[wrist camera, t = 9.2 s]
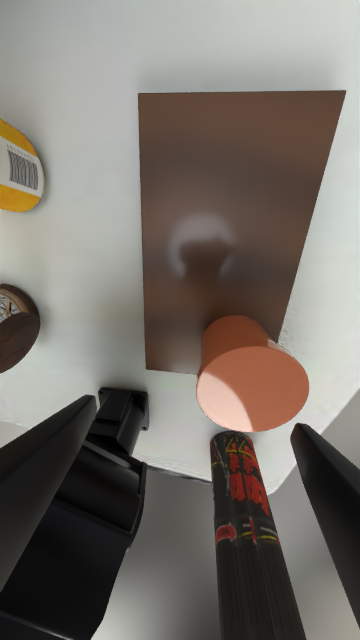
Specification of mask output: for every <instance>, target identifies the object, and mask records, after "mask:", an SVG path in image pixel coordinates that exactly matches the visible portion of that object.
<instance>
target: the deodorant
mask: <svg viewBox="0 0 360 640" xmlns="http://www.w3.org/2000/svg"><path fill="white" fill-rule="evenodd" d="M210 455H211V473H212V490H213V507H214V508H213V509H214V527H215V546H216V564H217V581H218V599H219V618H220V636H221V640H306V636H305V633H304V629H303V625H302V622H301V618H300V614H299V611H298V607H297V604H296V600H295V596H294V593H293V589H292V586H291V582H290V578H289V574H288V571H287V567H286V564H285V560H284V557H283V553H282V549H281V545H280V542H279V538H278V534H277V531H276V527H275V524H274V520H273V516H272V512H271V509H270V505H269V502H268V498H267V494H266V491H265V487H264V483H263V480H262V476H261V472H260V469H259V465H258V462H257V458H256V454H255V451H254V447H253V443H252V441H251V440H250V438H249V437H247V436H246V435H244V434H242V433H239V432H235V431H227V432H222V433H219V434H217V435H216V436H214V437H213V438H212V440H211V442H210Z"/></svg>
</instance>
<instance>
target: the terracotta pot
mask: <svg viewBox="0 0 360 640" xmlns="http://www.w3.org/2000/svg"><path fill="white" fill-rule="evenodd" d="M200 349H201V366H200V368H199V370H198V373H197V378H196V396H197V400H198V403H199V405H200V407H201V409H202V411H203V412H204V413H205V414H206V415H207V417H208V418H210V419H211V420H212V421H213V422H215V423H217V424H218V425H220V426H222V427H225V428H227V429H231V430H234V431H240V432H260V431H265V430H270V429H273V428H276V427H278V426H281V425H282V424H284V423H286V422H288V421H289V420H291V419H292V418H293V417H294V416H296V415H297V414H298V412H299V411H300V410H301V409H302V407H303V406H304V404H305V402H306V400H307V397H308V394H309V381H308V377H307V374H306V372H305V370H304V368H303V367H302V365H301V364H300V363H299V362H298V361H297V360H296V359H295V357H294V356H293V355H292V354H291V353H290V352H289V351H287V350H286V349H285V348H283V347H281V346H280V345H278V344H276V343H275V342H274V341H273V340H272V338H271V337H270V336H269V335H268V333H267V332H266V331H265V330H264V329H263V327H262V326H261V325H260V324H259V323H258V322H256V321H255V320H253V319H251V318H249V317H246V316H242V315H230V316H225V317H222V318H220V319H218V320H216V321H214V322H213V323H212V324H210V325H209V326H208V327H207V329H206V330H205V331H204V333H203V335H202V338H201V345H200Z"/></svg>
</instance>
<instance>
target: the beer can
mask: <svg viewBox="0 0 360 640" xmlns="http://www.w3.org/2000/svg"><path fill="white" fill-rule="evenodd" d="M44 188H45V177H44V172H43V168H42V165H41V163H40V161H39V158H38V156H37V153H36V151H35V150H34V148H33V146H32V145H31V143H30V142H29V141H28V139H27V138H26V137H25V136H24V135H23V134H22V133H21V132H20V131H19V130H17V129H16V128H14V127H13V126H11V125H10V124H8V123H7V122H5V121H4V120H2V119H1V118H0V209H4V210H9V211H14V212H24V211H28V210H30V209H32V208H33V207H34V206H35V205H36V204H37V203H38V202H39V201H40V199H41V197H42V195H43V193H44Z"/></svg>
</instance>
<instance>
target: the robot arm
mask: <svg viewBox="0 0 360 640" xmlns="http://www.w3.org/2000/svg"><path fill="white" fill-rule="evenodd" d="M98 395H99V402H100V408H99V410H98V411H97V406H96V398H95V396H93V395H84V396H82V397H81V398H79V399H78V400H76V401H74V402H73V403H71V404H70V405H68V406H67V407H65V408H63V409H62V410H60V411H59V412H57V413H56V414H54V415H52V416H51V417H49V418H48V419H46V420H44V421H43V422H41V423H40V424H38V425H37V426H35V427H33V428H32V429H30V430H29V431H27V432H26V433H24V434H22V435H21V436H19V437H18V438H16V439H14V440H13V441H11V442H10V443H8V444H6V445H5V446H3V447H2V448H0V640H91V638H92V637H93V635H94V633H95V632H96V630H97V628H98V627H99V625H100V624H101V622H102V620H103V617H104V615H105V612H106V608H107V605H108V602H109V598H110V595H111V592H112V589H113V586H114V583H115V579H116V577H117V573H118V571H119V568H120V566H121V563H122V560H123V558H124V555H125V553H126V552H127V551H128V550H129V548H130V546H131V544H132V542H133V540H134V538H135V535H136V533H137V530H138V527H139V524H140V521H141V517H142V513H143V506H144V495H145V484H146V472H147V463H145V462H141V461H139V460H137V459H135V458H133V457H131V456H132V453H133V450H134V447H135V444H136V441H137V438H138V435H139V432H140V430H143V431H146V430H148V427H149V414H148V394H147V393H146V392H139V391H129V390H120V389H111V388H100V389H99V391H98ZM144 396H145V397H144ZM96 411H97V413H96ZM95 414H96V415H95ZM290 440H291V444H292V448H293V451H294V454H295V458H296V461H297V465H298V468H299V471H300V475H301V478H302V481H303V484H304V487H305V490H306V492H307V495H308V497H309V500H310V503H311V505H312V508H313V510H314V513H315V515H316V518H317V521H318V523H319V525H320V528H321V531H322V533H323V536H324V539H325V541H326V544H327V546H328V549H329V551H330V554H331V556H332V559H333V562H334V564H335V567H336V569H337V572H338V575H339V577H340V580H341V582H342V585H343V587H344V590H345V593H346V595H347V597H348V600H349V603H350V605H351V608H352V611H353V613H354V616H355V618H356V621H357V623H358V626H359V628H360V470H359V469H358V468H357V467H356V466H355V465H353V463H351V462H350V461H349V460H348V459H347V458H346V457H344V456H343V455H342V454H341V453H340V452H339V451H338V450H336V449H335V448H334V447H333V446H332V445H331V444H330V443H328V442H327V441H326V440H325V439H324V438H323V437H321V436H320V435H319V434H318V433H317V432H316V431H315V430H313V429H312V428H311V427H310V426H309V425H307V424H302V423H297V424H295V427H294V429H293V431H292V434H291V437H290Z"/></svg>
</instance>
